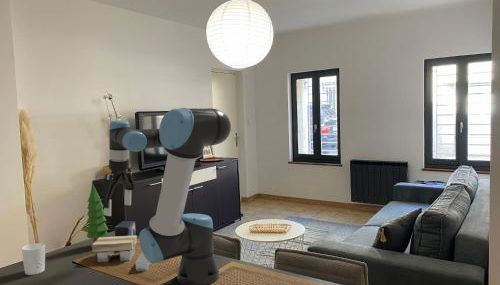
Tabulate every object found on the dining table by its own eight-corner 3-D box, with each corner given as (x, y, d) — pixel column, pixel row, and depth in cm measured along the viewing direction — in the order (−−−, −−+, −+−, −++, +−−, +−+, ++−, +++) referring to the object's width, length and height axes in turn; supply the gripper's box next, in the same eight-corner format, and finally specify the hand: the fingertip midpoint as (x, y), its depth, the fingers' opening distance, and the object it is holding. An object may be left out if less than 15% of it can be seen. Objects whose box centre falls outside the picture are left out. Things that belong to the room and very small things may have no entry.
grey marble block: (146, 271, 145) (146, 261, 145) (136, 271, 145) (135, 261, 145) (151, 261, 155) (151, 252, 155) (142, 262, 155) (141, 252, 155)
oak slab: (132, 249, 156) (131, 242, 156) (92, 252, 155) (91, 244, 155) (137, 242, 166) (136, 235, 166) (99, 244, 165) (99, 237, 165)
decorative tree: (83, 249, 171) (79, 184, 169) (92, 242, 180) (89, 180, 178) (104, 249, 171) (101, 183, 169) (112, 242, 180) (109, 180, 178)
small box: (129, 249, 169) (128, 226, 169) (114, 250, 170) (113, 227, 169) (136, 242, 180) (135, 220, 179) (123, 242, 180) (122, 220, 179)
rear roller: (130, 260, 156) (129, 251, 156) (120, 260, 156) (119, 251, 156) (135, 251, 166) (134, 243, 166) (125, 252, 166) (125, 243, 166)
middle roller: (107, 261, 156) (107, 252, 155) (97, 262, 155) (97, 252, 155) (114, 253, 166) (113, 244, 165) (104, 253, 165) (104, 244, 165)
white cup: (18, 274, 145) (16, 248, 144) (36, 266, 152) (34, 242, 152) (33, 276, 142) (31, 250, 142) (51, 268, 150) (49, 244, 149)
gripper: (128, 152, 163) (127, 199, 167) (89, 164, 140) (89, 218, 143) (144, 154, 161) (142, 202, 165) (107, 167, 138) (106, 222, 141)
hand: (118, 209), depth 154 cm, fingers open, 13 cm apart
